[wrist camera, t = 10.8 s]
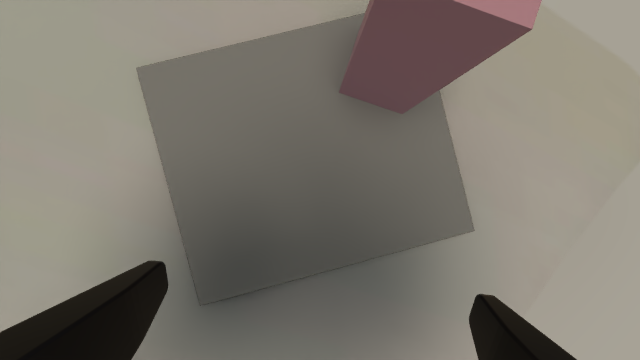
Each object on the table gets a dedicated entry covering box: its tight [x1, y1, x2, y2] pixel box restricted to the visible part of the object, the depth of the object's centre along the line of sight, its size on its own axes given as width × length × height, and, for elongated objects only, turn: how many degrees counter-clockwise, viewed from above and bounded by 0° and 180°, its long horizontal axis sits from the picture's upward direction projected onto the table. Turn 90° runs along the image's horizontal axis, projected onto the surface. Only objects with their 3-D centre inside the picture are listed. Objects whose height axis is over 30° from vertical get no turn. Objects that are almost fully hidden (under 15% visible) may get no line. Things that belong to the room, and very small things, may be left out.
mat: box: [136, 13, 474, 306], centre depth 21 cm, size 19×16×1 cm
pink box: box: [339, 0, 542, 114], centre depth 15 cm, size 5×4×12 cm
